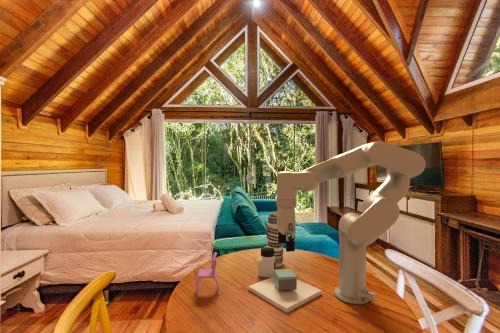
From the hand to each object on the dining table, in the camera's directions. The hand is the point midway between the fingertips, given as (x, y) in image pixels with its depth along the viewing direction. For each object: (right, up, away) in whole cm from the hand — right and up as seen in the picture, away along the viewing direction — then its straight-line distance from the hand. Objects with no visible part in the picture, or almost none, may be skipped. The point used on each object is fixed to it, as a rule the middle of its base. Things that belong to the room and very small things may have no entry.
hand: (286, 247), depth 102 cm
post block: (-1, -18, 0) cm, 18 cm away
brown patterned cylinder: (-2, -17, +30) cm, 34 cm away
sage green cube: (0, -15, 0) cm, 15 cm away
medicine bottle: (-6, -18, +16) cm, 25 cm away
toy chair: (-30, -17, 0) cm, 35 cm away
